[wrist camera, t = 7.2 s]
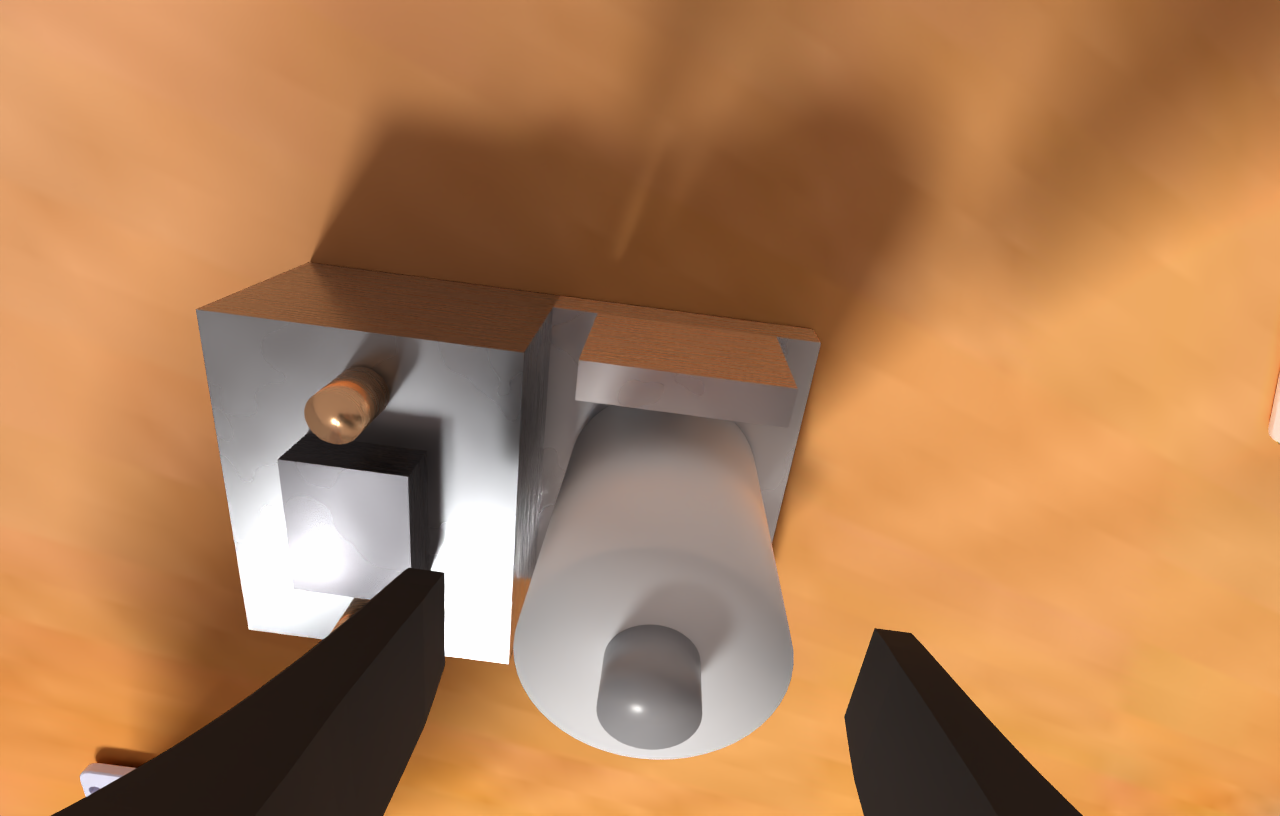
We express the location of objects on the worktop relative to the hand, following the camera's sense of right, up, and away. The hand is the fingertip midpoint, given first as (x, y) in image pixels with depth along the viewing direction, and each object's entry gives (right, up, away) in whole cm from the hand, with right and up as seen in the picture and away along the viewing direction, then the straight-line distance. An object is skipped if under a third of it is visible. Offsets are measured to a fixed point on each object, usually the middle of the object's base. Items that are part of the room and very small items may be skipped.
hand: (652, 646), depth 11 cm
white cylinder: (0, +2, +5) cm, 6 cm away
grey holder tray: (-3, +3, +6) cm, 7 cm away
